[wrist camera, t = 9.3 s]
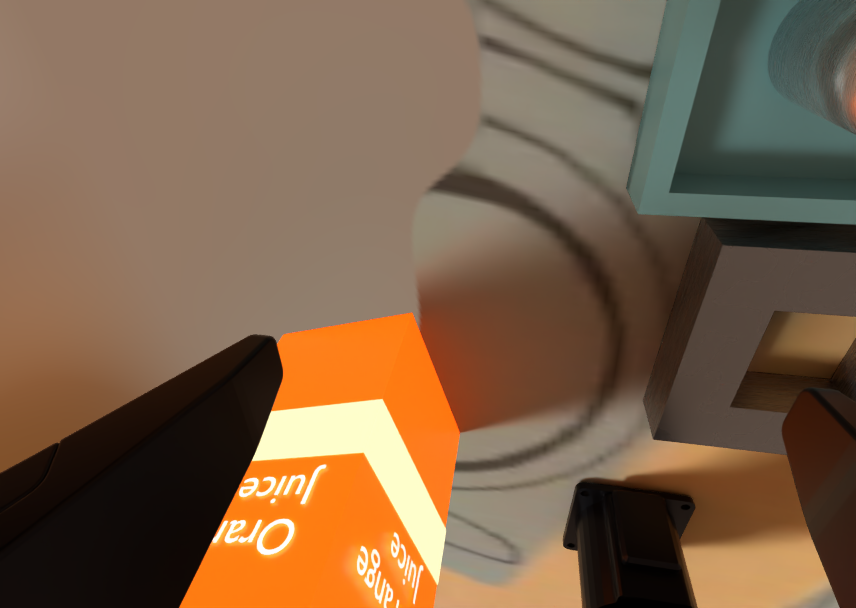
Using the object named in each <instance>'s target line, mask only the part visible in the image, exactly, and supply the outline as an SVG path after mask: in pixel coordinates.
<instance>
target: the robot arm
mask: <svg viewBox="0 0 856 608" xmlns="http://www.w3.org/2000/svg"><path fill="white" fill-rule="evenodd" d="M282 380H283V366H282V362H281V358H280V354H279V350H278V346H277V343H276V340H275V339H274V338H273V337H272V336H266V335H256V334H255V335H250V336H248V337H246V338H244V339H243V340H241V341H239V342H237V343H235V344H233V345H232V346H230V347H228V348H226V349H224V350H223V351H221V352H219V353H217V354H215V355H214V356H212V357H210V358H208V359H206V360H205V361H203V362H201V363H199V364H197V365H196V366H194V367H192V368H190V369H188V370H187V371H185V372H183V373H181V374H179V375H178V376H176V377H174V378H172V379H170V380H168V381H167V382H165V383H163V384H161V385H159V386H158V387H156V388H154V389H152V390H150V391H149V392H147V393H145V394H143V395H141V396H140V397H138V398H136V399H134V400H132V401H130V402H129V403H127V404H125V405H123V406H121V407H120V408H118V409H116V410H114V411H112V412H111V413H109V414H107V415H105V416H103V417H102V418H100V419H98V420H96V421H94V422H93V423H91V424H89V425H87V426H85V427H84V428H82V429H80V430H78V431H76V432H74V433H73V434H71V435H69V436H67V437H65V438H64V439H62V440H61V441H60V443H55V444H53V445H51V446H49V447H47V448H45V449H44V450H42V451H40V452H38V453H36V454H35V455H33V456H31V457H29V458H28V459H26V460H24V461H22V462H20V463H18V464H16V465H14V466H12V467H11V468H9V469H7V470H5V471H3V472H1V473H0V608H179V607H180V605H181V603H182V601H183V599H184V597H185V595H186V593H187V591H188V589H189V587H190V585H191V583H192V581H193V579H194V577H195V575H196V573H197V571H198V569H199V567H200V565H201V563H202V561H203V559H204V557H205V555H206V553H207V551H208V549H209V547H210V545H211V543H212V541H213V539H214V537H215V535H216V533H217V530H218V528H219V526H220V524H221V522H222V520H223V518H224V516H225V514H226V512H227V510H228V508H229V506H230V504H231V502H232V500H233V498H234V496H235V494H236V492H237V490H238V488H239V486H240V484H241V482H242V480H243V478H244V476H245V474H246V472H247V470H248V468H249V466H250V464H251V462H252V459H253V457H254V455H255V453H256V451H257V448H258V446H259V443H260V441H261V438H262V435H263V432H264V430H265V427H266V424H267V421H268V419H269V416H270V413H271V410H272V408H273V405H274V402H275V399H276V397H277V394H278V391H279V388H280V386H281V383H282ZM782 438H783V442H784V445H785V449H786V452H787V456H788V460H789V463H790V467H791V471H792V474H793V478H794V481H795V485H796V489H797V492H798V496H799V500H800V503H801V507H802V510H803V514H804V517H805V520H806V523H807V526H808V529H809V532H810V534H811V537H812V540H813V542H814V545H815V547H816V550H817V552H818V555H819V557H820V560H821V562H822V565H823V567H824V570H825V572H826V575H827V577H828V580H829V582H830V585H831V587H832V590H833V592H834V595H835V597H836V600H837V602H838V605H839V607H840V608H856V402H855V401H853V400H851V399H850V398H848V397H847V396H845V395H844V394H842V393H840V392H839V391H836V390H833V389H824V388H814V387H808V388H805V389H803V390H802V391H801V392H800V393H799V395H798V396H797V398H796V400H795V402H794V403H793V405H792V407H791V409H790V410H789V412H788V414H787V416H786V417H785V419H784V421H783V424H782ZM694 509H695V504H694V501H693V499H692V498H691V497H689V496H685V495H677V494H670V493H662V492H654V491H647V490H639V489H632V488H624V487H616V486H609V485H601V484H594V483H586V482H582V483H578V484H577V485H576V487H575V491H574V495H573V499H572V503H571V507H570V511H569V515H568V519H567V523H566V528H565V532H564V536H563V546H564V547H565V548H567V549H570V550H576V551H578V562H579V574H580V586H581V598H582V608H698V607H697V603H696V600H695V596H694V592H693V588H692V584H691V581H690V577H689V573H688V569H687V566H686V562H685V558H684V554H683V550H682V547H681V543H680V538H681V536H682V534H683V532H684V530H685V528H686V526H687V524H688V522H689V520H690V518H691V516H692V514H693V512H694Z"/></svg>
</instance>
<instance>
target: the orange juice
mask: <svg viewBox="0 0 856 608" xmlns="http://www.w3.org/2000/svg"><path fill="white" fill-rule="evenodd" d="M277 346H278V350H279V354H280V358H281V362H282V366H283V380H282V383H281V386H280V388H279V391H278V394H277V397H276V399H275V402H274V405H273V408H272V410H271V413H270V416H269V419H268V421H267V424H266V427H265V430H264V432H263V435H262V438H261V441H260V443H259V446H258V448H257V451H256V453H255V455H254V457H253V459H252V462H251V464H250V466H249V468H248V470H247V472H246V474H245V476H244V478H243V480H242V482H241V484H240V486H239V488H238V490H237V492H236V494H235V496H234V498H233V500H232V502H231V504H230V506H229V508H228V510H227V512H226V514H225V516H224V518H223V520H222V522H221V524H220V526H219V528H218V530H217V533H216V535H215V537H214V539H213V541H212V543H211V545H210V547H209V549H208V551H207V553H206V555H205V557H204V559H203V561H202V563H201V565H200V567H199V569H198V571H197V573H196V575H195V577H194V579H193V581H192V583H191V585H190V587H189V589H188V591H187V593H186V595H185V597H184V599H183V601H182V603H181V605H180V607H179V608H433V606H434V600H435V593H436V586H437V585H438V581H439V574H440V568H441V561H442V554H443V548H444V541H445V534H446V529H445V527H446V521H447V514H448V508H449V501H450V494H451V488H452V481H453V475H454V468H455V462H456V455H457V448H458V442H459V435H460V432H459V430H458V427H457V425H456V422H455V420H454V417H453V414H452V412H451V409H450V407H449V404H448V402H447V399H446V397H445V394H444V392H443V389H442V387H441V384H440V382H439V379H438V377H437V374H436V372H435V369H434V367H433V364H432V361H431V359H430V356H429V354H428V351H427V349H426V346H425V344H424V341H423V339H422V336H421V334H420V331H419V329H418V326H417V324H416V321H415V319H414V316H413V313H408V314H402V315H395V316H390V317H384V318H378V319H372V320H366V321H360V322H354V323H349V324H343V325H336V326H330V327H324V328H319V329H313V330H307V331H301V332H295V333H289V334H284V335H283V336H282V338H281V339H280V341H279V342H278V344H277Z"/></svg>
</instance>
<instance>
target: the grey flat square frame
mask: <svg viewBox="0 0 856 608" xmlns="http://www.w3.org/2000/svg"><path fill="white" fill-rule="evenodd" d="M774 311H786V312H799V313H812V314H826V315H839V316H853V317H856V225H853V224H832V223H811V222H791V221H770V220H750V219H729V218H709V217H702V218H701V221H700V224H699V227H698V230H697V233H696V236H695V239H694V243H693V246H692V249H691V252H690V255H689V258H688V261H687V264H686V268H685V271H684V274H683V277H682V280H681V283H680V286H679V290H678V293H677V296H676V299H675V302H674V305H673V308H672V311H671V315H670V318H669V321H668V324H667V327H666V330H665V333H664V336H663V340H662V343H661V346H660V349H659V352H658V355H657V358H656V361H655V365H654V368H653V371H652V374H651V377H650V380H649V383H648V386H647V390H646V393H645V396H644V399H643V402H644V406H645V410H646V414H647V418H648V421H649V425H650V429H651V433H652V437H653V439H654V440H662V441H671V442H679V443H688V444H697V445H705V446H714V447H723V448H731V449H740V450H748V451H757V452H766V453H774V454H783V455H787V452H786V449H785V445H784V442H783V438H782V424H783V421H784V419H785V417H786V416H787V414H788V412H789V410H790V409H791V407H792V405H793V403H794V402H795V400H796V398H797V396H798V395H799V393H800V392H801V391H802V390H803V389H805V388H808V387H814V388H824V389H833V390H836V391H839V392H840V393H842V394H844V395H845V396H847V397H848V398H850V399H851V400H853V401H855V402H856V338H855V340H854V342H853V343H852V345H851V347H850V348H849V350H848V352H847V353H846V355H845V357H844V358H843V360H842V362H841V363H840V365H839V367H838V368H837V370H836V372H835V373H834V375H833V377H832V378H831V379H823V378H812V377H802V376H791V375H780V374H769V373H759V372H748V371H747V369H748V367H749V364H750V362H751V360H752V358H753V356H754V354H755V352H756V349H757V347H758V345H759V343H760V341H761V339H762V337H763V334H764V332H765V330H766V328H767V326H768V324H769V321H770V319H771V317H772V315H773V313H774Z"/></svg>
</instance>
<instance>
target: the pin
mask: <svg viewBox="0 0 856 608" xmlns="http://www.w3.org/2000/svg"><path fill="white" fill-rule="evenodd" d="M768 74H769V78H770V81H771V83H772V85H773V87H774V88H775V90H776V91H777V92H778V93H779V94H780V95H781V96H782V97H783V98H785V99H787V100H789V101H790V102H792V103H794V104H796V105H798V106H800V107H802V108H804V109H806V110H808V111H810V112H812V113H814V114H816V115H818V116H820V117H821V118H823V119H825V120H827V121H829V122H831V123H833V124H835V125H837V126H839V127H841V128H843V129H845V130H847V131H849V132H851V133H853V134H854V135H856V0H800V1H799V2H798V3H797V4H796V5H795V6H794V7H793V8H792V9H791V10H790V11H789V13H788V14H787V15H786V16H785V18H784V19H783V21H782V22H781V24H780V25H779V27H778V29H777V31H776V33H775V35H774V37H773V40H772V42H771V45H770V49H769V54H768Z"/></svg>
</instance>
